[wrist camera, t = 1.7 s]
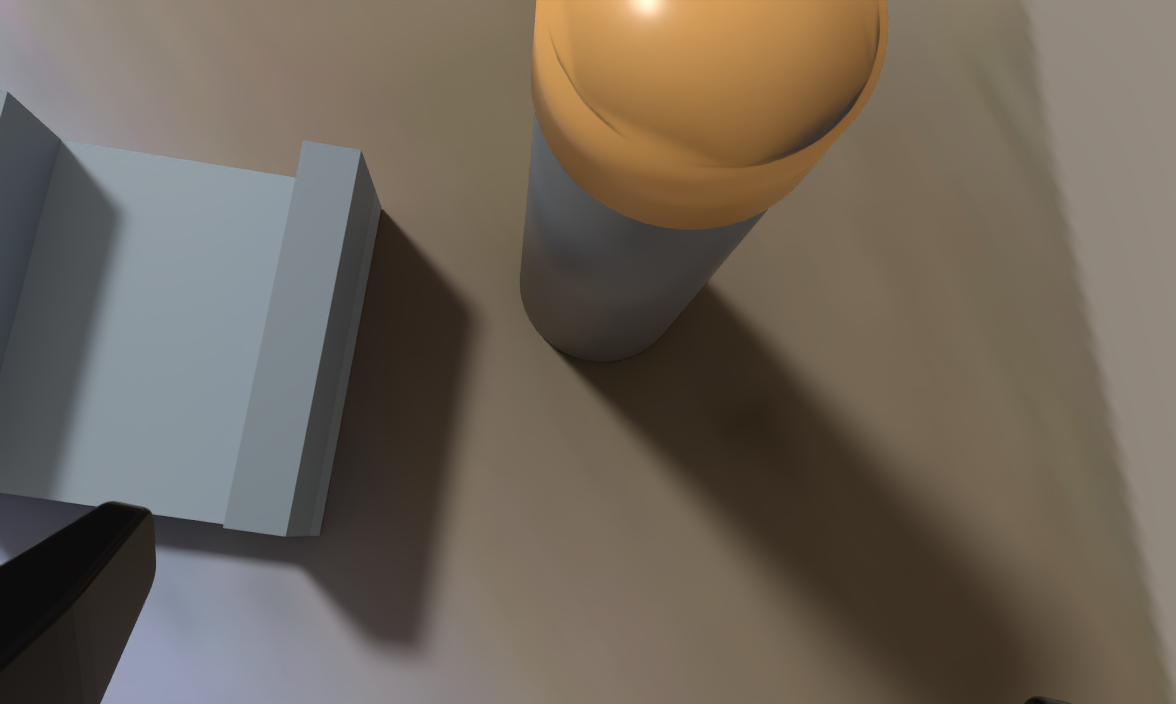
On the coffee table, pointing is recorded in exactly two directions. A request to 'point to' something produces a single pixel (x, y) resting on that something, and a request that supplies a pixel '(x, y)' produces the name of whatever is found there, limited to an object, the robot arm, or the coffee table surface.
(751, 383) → the coffee table surface
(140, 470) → the grey divided tray
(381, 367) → the coffee table surface
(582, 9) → the grey cylinder
